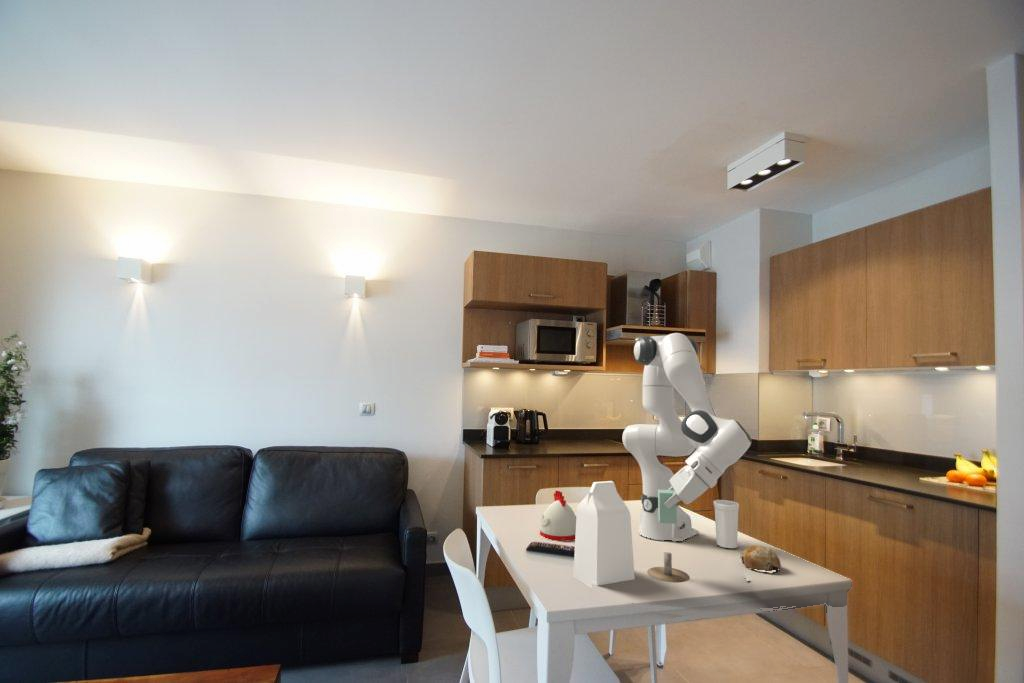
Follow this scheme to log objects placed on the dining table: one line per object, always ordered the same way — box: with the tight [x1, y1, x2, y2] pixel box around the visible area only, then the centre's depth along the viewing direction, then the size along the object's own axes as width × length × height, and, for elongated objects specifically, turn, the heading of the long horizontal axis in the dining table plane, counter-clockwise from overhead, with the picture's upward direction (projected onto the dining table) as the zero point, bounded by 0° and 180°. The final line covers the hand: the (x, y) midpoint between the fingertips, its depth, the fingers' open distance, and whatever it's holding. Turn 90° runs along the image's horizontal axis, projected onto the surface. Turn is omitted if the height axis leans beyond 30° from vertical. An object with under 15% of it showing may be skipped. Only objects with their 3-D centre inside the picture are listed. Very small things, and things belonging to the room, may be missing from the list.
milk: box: [573, 480, 636, 589], centre depth 132 cm, size 12×12×26 cm
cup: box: [712, 499, 740, 549], centre depth 162 cm, size 8×8×14 cm
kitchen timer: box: [539, 490, 577, 542], centre depth 172 cm, size 14×14×15 cm
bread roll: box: [739, 545, 782, 571], centre depth 143 cm, size 10×10×8 cm
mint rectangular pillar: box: [658, 489, 677, 524], centre depth 134 cm, size 4×4×8 cm
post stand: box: [646, 551, 690, 584], centre depth 132 cm, size 11×11×7 cm
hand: (664, 503), depth 134 cm, fingers closed on mint rectangular pillar, 4 cm apart
